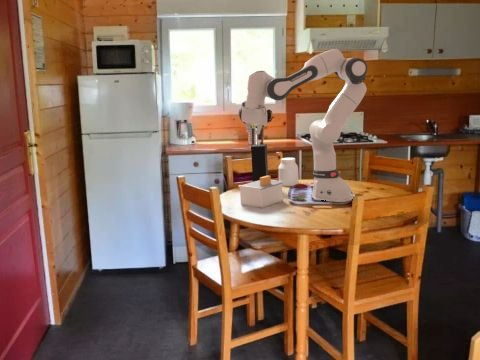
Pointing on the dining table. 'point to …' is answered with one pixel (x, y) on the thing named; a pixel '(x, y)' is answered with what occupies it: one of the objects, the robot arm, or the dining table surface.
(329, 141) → the robot arm
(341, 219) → the dining table surface
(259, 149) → the black tall block
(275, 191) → the carton
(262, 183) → the lid
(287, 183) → the jar
